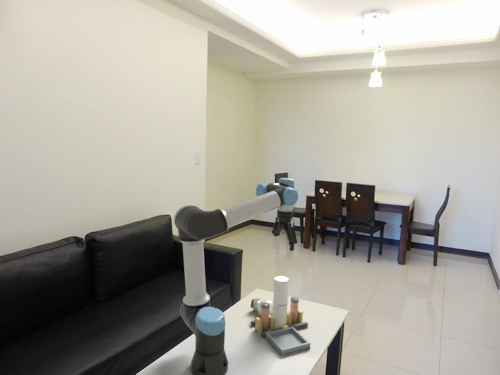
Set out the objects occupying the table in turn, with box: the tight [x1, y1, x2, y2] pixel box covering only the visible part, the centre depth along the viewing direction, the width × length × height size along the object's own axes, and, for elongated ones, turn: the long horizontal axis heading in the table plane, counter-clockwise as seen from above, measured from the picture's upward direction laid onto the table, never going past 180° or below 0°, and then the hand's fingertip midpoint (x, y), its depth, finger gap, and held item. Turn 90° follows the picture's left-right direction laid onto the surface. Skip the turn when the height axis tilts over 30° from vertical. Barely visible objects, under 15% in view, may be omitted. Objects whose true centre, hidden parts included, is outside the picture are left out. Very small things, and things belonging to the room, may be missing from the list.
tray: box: [265, 327, 311, 357], centre depth 160 cm, size 15×15×2 cm
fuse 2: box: [289, 296, 300, 325], centre depth 178 cm, size 4×4×13 cm
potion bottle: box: [250, 297, 273, 317], centre depth 185 cm, size 9×10×15 cm
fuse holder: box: [250, 308, 309, 338], centre depth 175 cm, size 26×13×6 cm, turn 115°
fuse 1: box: [260, 303, 270, 332], centre depth 171 cm, size 4×4×13 cm
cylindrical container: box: [272, 275, 290, 329], centre depth 174 cm, size 7×7×25 cm
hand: (283, 252), depth 170 cm, fingers open, 13 cm apart
